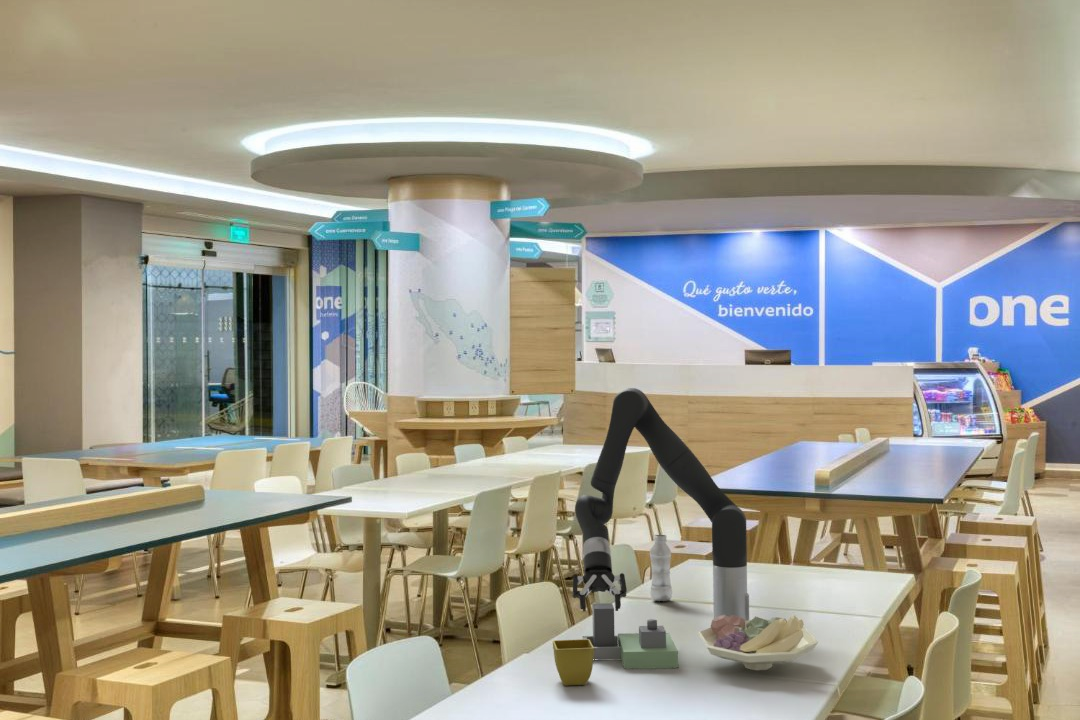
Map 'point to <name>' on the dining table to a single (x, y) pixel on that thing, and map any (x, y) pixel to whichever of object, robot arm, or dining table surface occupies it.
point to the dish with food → (758, 640)
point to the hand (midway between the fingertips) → (600, 609)
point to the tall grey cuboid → (603, 625)
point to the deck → (641, 648)
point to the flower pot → (573, 660)
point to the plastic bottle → (660, 569)
